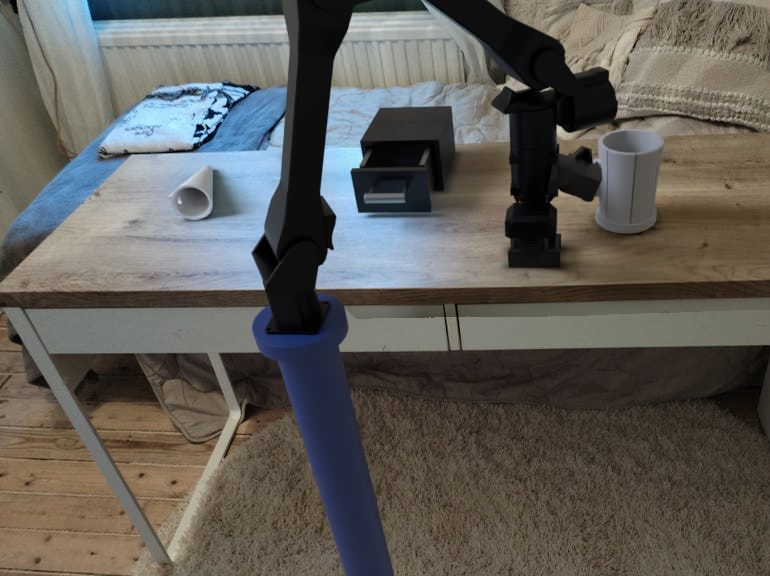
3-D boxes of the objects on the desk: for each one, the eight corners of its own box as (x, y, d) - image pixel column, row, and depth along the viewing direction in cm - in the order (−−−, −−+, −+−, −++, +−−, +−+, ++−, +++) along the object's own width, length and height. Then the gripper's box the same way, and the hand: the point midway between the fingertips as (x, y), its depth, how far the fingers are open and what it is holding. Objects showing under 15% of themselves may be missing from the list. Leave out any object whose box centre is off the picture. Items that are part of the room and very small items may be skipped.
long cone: (245, 176, 128) (218, 216, 112) (211, 182, 128) (179, 223, 112) (233, 145, 125) (204, 181, 109) (199, 151, 125) (164, 189, 109)
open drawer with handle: (426, 226, 104) (421, 183, 99) (351, 226, 105) (342, 184, 101) (443, 174, 117) (439, 134, 113) (377, 174, 119) (370, 135, 114)
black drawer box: (444, 190, 115) (438, 139, 109) (368, 191, 116) (359, 141, 111) (455, 153, 126) (451, 105, 120) (386, 155, 127) (379, 107, 122)
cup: (616, 246, 98) (621, 164, 90) (572, 222, 104) (574, 143, 96) (669, 221, 102) (678, 141, 95) (624, 200, 108) (630, 123, 101)
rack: (561, 248, 98) (561, 233, 97) (560, 267, 94) (560, 252, 93) (511, 248, 99) (510, 233, 98) (508, 267, 95) (507, 252, 94)
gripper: (602, 172, 78) (596, 290, 88) (598, 111, 92) (593, 218, 102) (501, 173, 79) (507, 289, 89) (513, 113, 94) (516, 218, 104)
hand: (534, 251), depth 96 cm, fingers closed on rack, 5 cm apart
